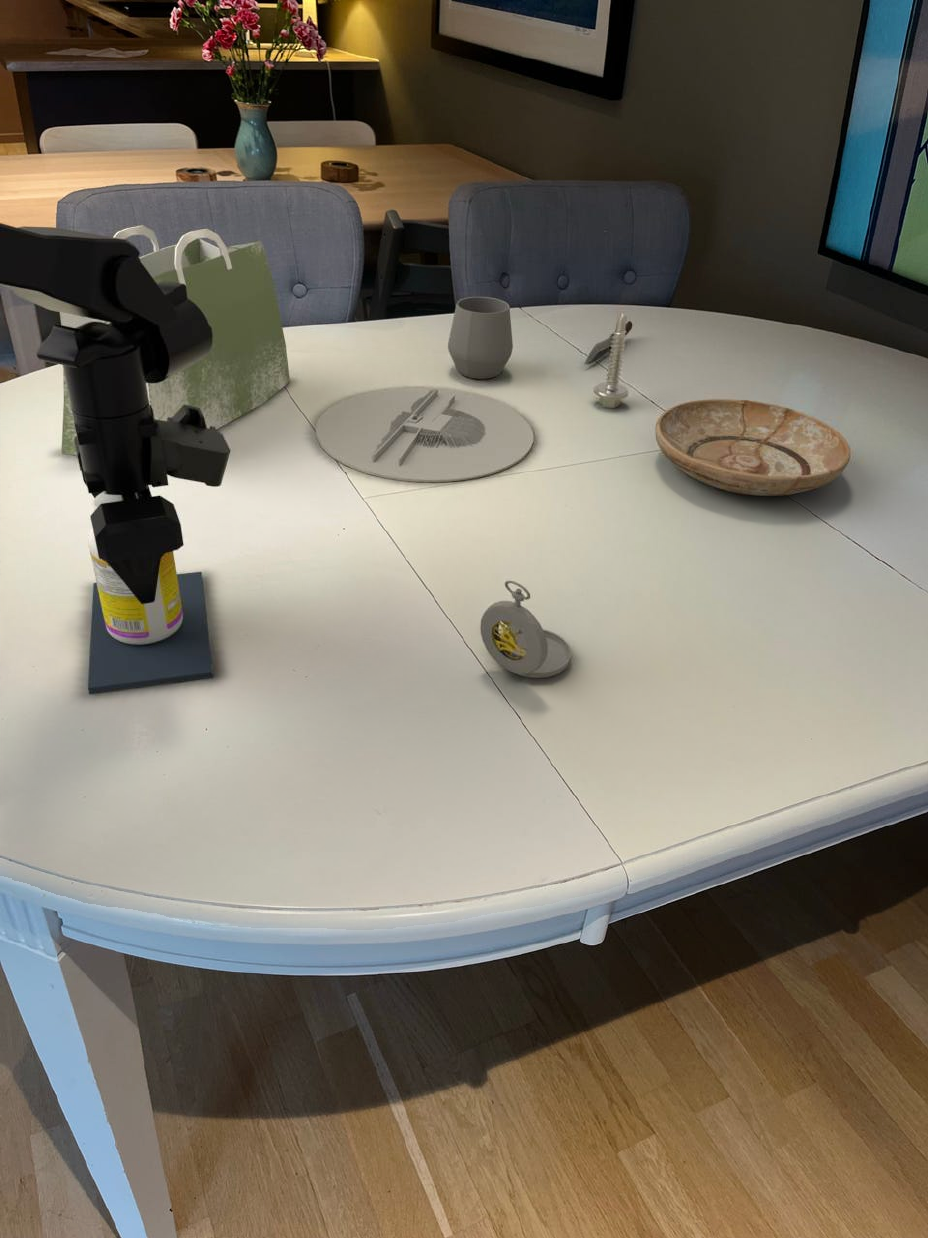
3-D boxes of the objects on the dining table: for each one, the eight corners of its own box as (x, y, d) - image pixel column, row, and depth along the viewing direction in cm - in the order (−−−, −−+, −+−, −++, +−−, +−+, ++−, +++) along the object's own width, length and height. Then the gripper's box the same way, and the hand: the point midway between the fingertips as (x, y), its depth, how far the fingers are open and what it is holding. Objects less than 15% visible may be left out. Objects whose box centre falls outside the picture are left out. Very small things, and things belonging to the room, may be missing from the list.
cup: (464, 356, 146) (467, 290, 140) (520, 369, 143) (526, 301, 137) (436, 376, 139) (438, 307, 133) (494, 389, 136) (499, 319, 130)
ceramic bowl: (862, 463, 122) (873, 427, 119) (806, 538, 106) (818, 498, 103) (692, 415, 132) (699, 381, 129) (618, 477, 116) (624, 439, 113)
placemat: (213, 677, 81) (212, 671, 81) (88, 693, 79) (87, 688, 78) (202, 576, 94) (201, 571, 93) (94, 587, 91) (93, 582, 91)
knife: (587, 371, 144) (590, 352, 142) (578, 369, 144) (581, 349, 142) (633, 338, 157) (636, 320, 155) (624, 336, 157) (627, 318, 156)
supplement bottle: (168, 597, 90) (149, 473, 82) (195, 633, 85) (177, 507, 78) (96, 618, 86) (70, 491, 79) (120, 656, 82) (94, 526, 74)
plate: (370, 376, 138) (370, 368, 137) (557, 411, 131) (558, 402, 130) (276, 454, 116) (275, 445, 115) (494, 500, 109) (495, 491, 108)
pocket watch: (570, 640, 88) (583, 547, 82) (569, 698, 81) (583, 602, 76) (482, 631, 89) (489, 538, 83) (474, 689, 82) (480, 592, 76)
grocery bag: (210, 364, 138) (191, 193, 125) (294, 382, 135) (284, 207, 121) (57, 451, 114) (13, 250, 100) (155, 475, 110) (123, 269, 97)
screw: (625, 413, 132) (590, 409, 132) (627, 399, 135) (593, 395, 136) (640, 319, 124) (603, 315, 125) (641, 308, 128) (605, 304, 128)
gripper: (240, 440, 70) (257, 615, 79) (194, 352, 83) (213, 509, 92) (79, 460, 66) (115, 642, 75) (58, 364, 79) (91, 527, 89)
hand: (140, 573), depth 83 cm, fingers open, 9 cm apart
